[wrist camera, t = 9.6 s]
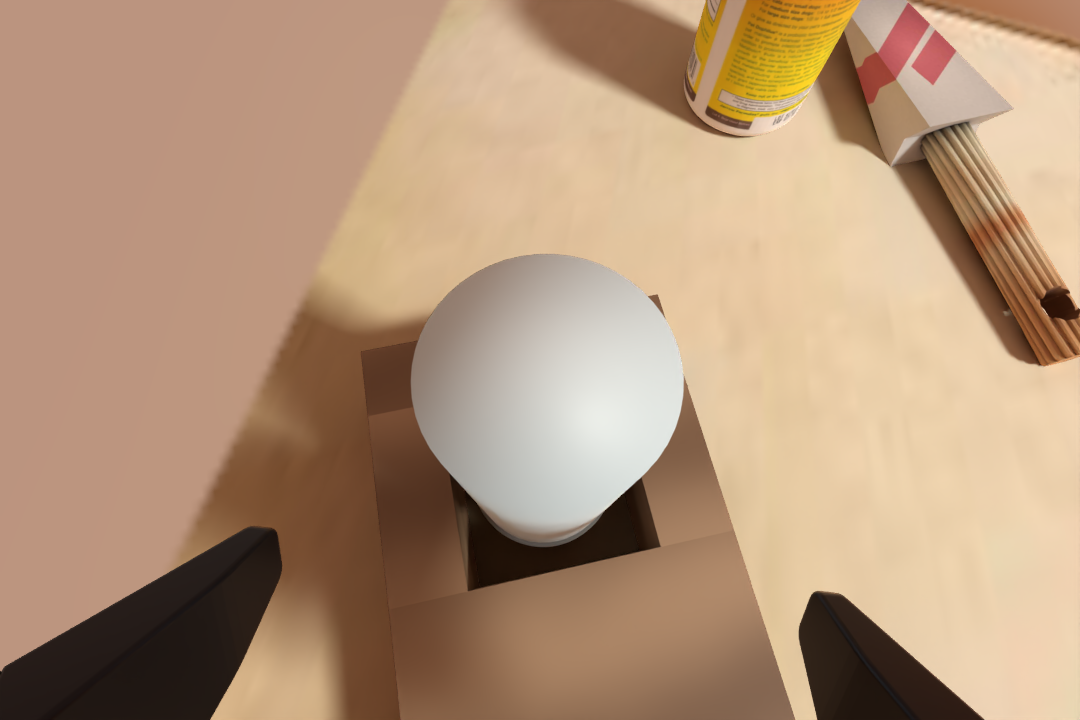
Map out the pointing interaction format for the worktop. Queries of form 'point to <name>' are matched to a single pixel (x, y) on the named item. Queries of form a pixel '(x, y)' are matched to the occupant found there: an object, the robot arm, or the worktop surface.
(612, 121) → the worktop surface
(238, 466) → the worktop surface
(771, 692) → the brown holed block
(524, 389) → the peg
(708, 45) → the supplement bottle
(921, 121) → the paintbrush
